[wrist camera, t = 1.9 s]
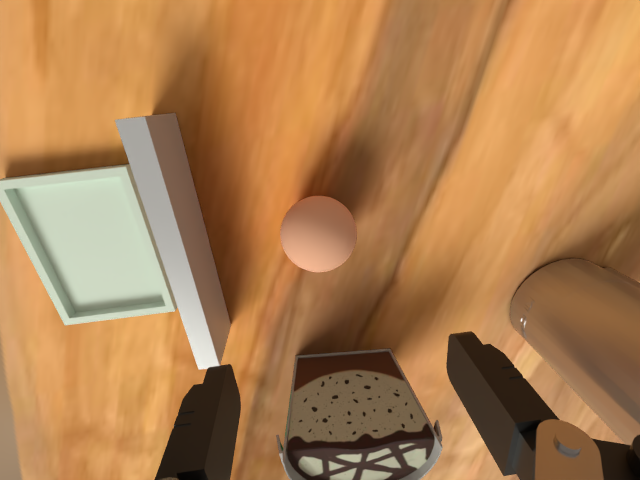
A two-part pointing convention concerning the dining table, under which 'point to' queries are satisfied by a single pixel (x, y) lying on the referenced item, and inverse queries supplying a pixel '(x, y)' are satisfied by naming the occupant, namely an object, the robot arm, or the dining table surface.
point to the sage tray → (89, 242)
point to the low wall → (178, 230)
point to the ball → (318, 233)
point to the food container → (356, 420)
